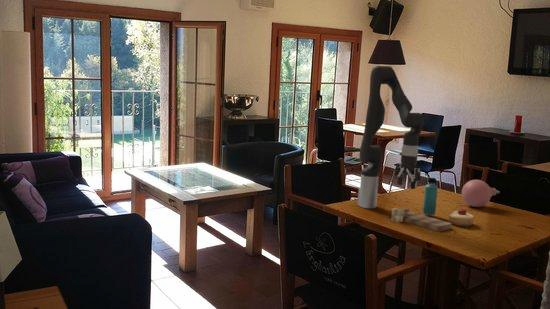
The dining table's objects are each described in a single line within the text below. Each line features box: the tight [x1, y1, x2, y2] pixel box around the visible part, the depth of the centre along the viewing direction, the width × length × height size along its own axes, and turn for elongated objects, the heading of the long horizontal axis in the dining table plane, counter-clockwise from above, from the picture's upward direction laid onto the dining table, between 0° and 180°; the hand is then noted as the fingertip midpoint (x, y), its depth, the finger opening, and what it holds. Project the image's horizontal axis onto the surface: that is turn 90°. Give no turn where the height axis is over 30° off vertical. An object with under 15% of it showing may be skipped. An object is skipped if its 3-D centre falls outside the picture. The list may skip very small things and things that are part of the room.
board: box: [402, 210, 453, 233], centre depth 258 cm, size 26×10×2 cm, turn 39°
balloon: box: [461, 179, 501, 208], centre depth 294 cm, size 15×20×15 cm
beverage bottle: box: [422, 177, 438, 216], centre depth 270 cm, size 6×7×20 cm
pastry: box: [448, 206, 475, 228], centre depth 259 cm, size 12×12×9 cm
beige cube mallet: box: [390, 207, 410, 223], centre depth 261 cm, size 4×10×6 cm, turn 129°
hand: (406, 186), depth 256 cm, fingers open, 8 cm apart
